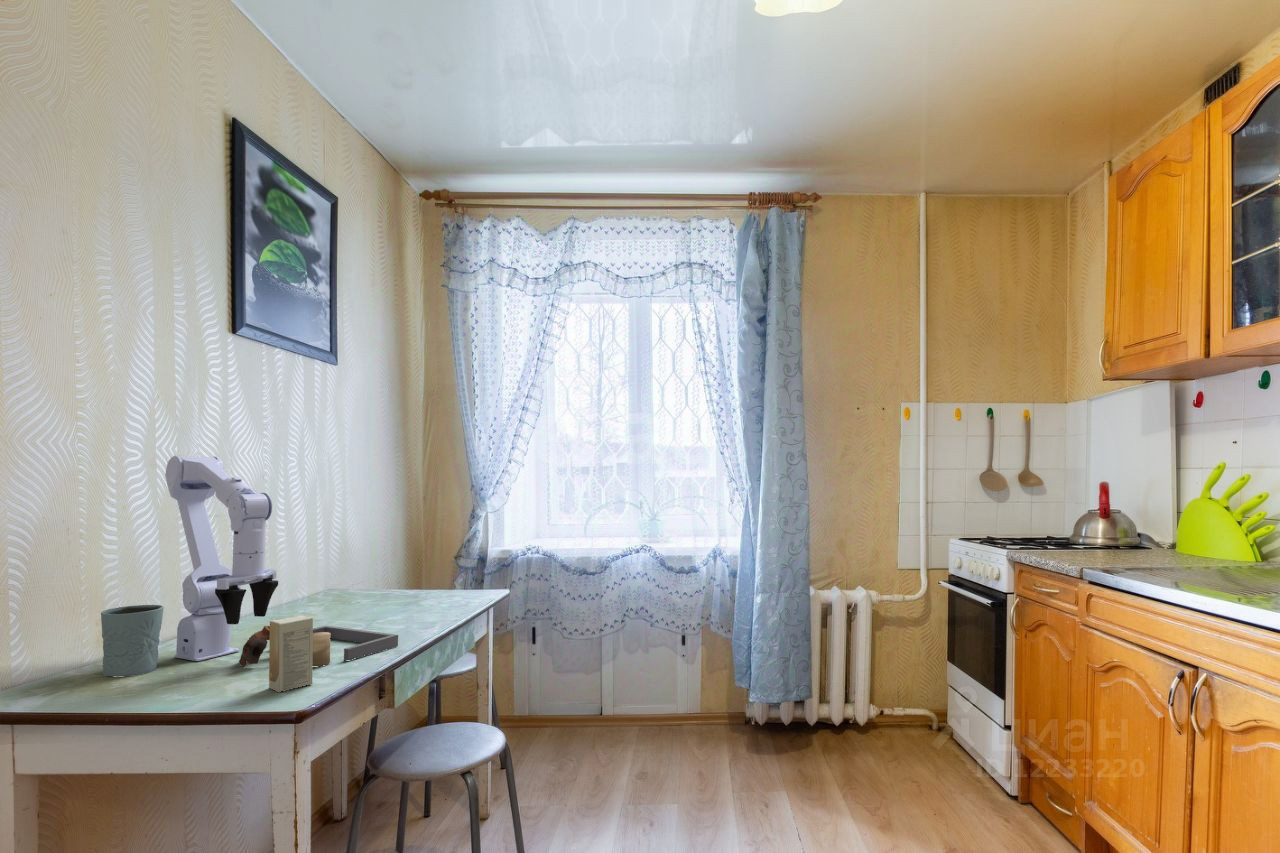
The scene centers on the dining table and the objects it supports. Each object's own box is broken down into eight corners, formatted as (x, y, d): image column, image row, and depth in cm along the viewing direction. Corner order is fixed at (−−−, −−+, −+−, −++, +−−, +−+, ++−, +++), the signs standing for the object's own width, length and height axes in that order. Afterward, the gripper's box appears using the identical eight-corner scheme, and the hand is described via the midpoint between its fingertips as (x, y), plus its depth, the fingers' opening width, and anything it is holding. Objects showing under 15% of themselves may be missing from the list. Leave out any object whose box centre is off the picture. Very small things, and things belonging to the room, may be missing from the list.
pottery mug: (248, 659, 151) (272, 623, 153) (285, 680, 149) (309, 644, 152) (218, 659, 139) (244, 619, 142) (258, 682, 138) (283, 642, 140)
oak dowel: (317, 668, 142) (318, 637, 142) (303, 665, 144) (304, 635, 144) (334, 663, 146) (335, 633, 146) (320, 661, 147) (320, 631, 148)
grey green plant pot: (111, 681, 133) (114, 616, 133) (88, 672, 138) (91, 610, 139) (170, 668, 141) (173, 607, 142) (147, 661, 147) (149, 602, 147)
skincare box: (301, 680, 134) (304, 614, 134) (313, 685, 131) (315, 617, 132) (266, 688, 129) (268, 619, 129) (277, 693, 126) (279, 623, 127)
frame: (348, 661, 147) (348, 649, 147) (272, 649, 156) (272, 638, 156) (397, 646, 160) (398, 634, 160) (325, 636, 169) (325, 625, 169)
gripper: (240, 557, 138) (237, 628, 137) (289, 549, 152) (288, 613, 152) (208, 556, 140) (205, 627, 139) (260, 548, 154) (258, 612, 153)
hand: (246, 620), depth 145 cm, fingers open, 7 cm apart
